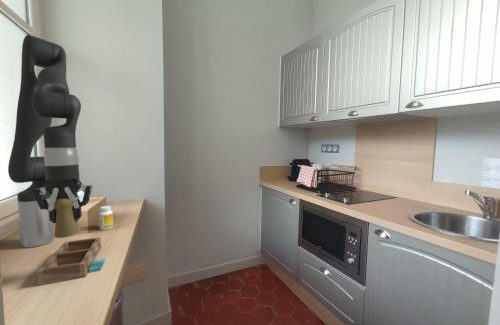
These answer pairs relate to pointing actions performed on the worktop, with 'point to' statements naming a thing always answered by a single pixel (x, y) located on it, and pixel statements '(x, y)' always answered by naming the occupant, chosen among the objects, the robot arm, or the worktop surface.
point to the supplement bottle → (105, 218)
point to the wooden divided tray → (71, 261)
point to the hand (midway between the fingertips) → (66, 220)
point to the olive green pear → (65, 219)
